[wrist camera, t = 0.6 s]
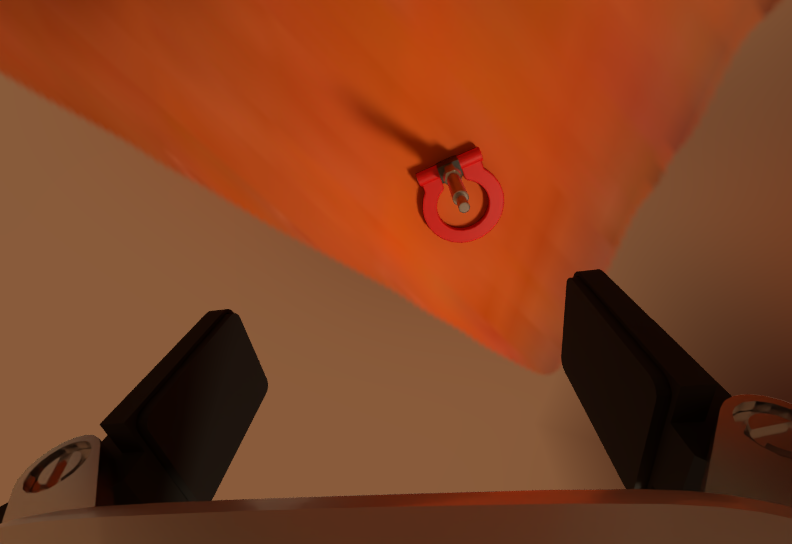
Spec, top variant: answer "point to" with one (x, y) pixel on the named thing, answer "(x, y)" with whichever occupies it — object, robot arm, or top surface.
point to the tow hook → (460, 195)
